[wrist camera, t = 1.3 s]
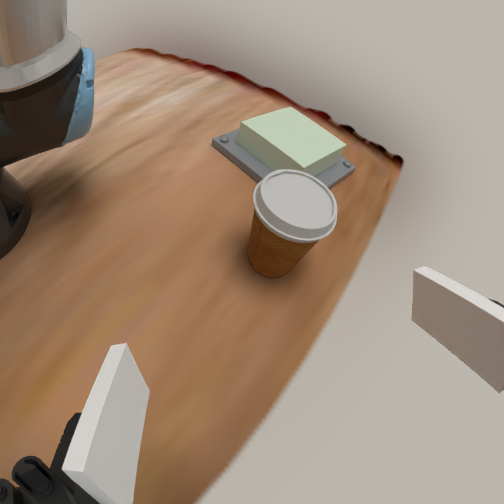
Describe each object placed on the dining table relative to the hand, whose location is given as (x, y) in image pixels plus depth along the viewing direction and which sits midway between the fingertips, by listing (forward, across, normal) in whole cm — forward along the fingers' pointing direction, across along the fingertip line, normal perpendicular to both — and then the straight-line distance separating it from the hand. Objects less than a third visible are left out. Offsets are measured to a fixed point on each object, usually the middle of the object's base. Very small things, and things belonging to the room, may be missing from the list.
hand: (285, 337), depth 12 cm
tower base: (+44, +13, +7) cm, 47 cm away
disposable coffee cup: (+28, +4, -6) cm, 29 cm away
